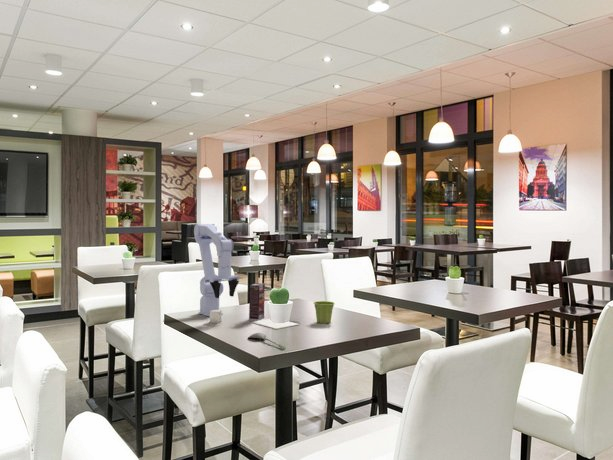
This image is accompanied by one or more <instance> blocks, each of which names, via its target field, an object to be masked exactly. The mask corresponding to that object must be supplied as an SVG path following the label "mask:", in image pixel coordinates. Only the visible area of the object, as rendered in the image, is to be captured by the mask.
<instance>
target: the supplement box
mask: <svg viewBox="0 0 613 460" xmlns="http://www.w3.org/2000/svg"><path fill="white" fill-rule="evenodd" d="M265 292H266V286H265V283H260V282H256V283H252V284H250V285H249V307H248V309H249V310H248V311H249V313H248V320H249V321H251V322H253V321H258V320H263V319H265V295H266V294H265Z"/></svg>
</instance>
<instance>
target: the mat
mask: <svg viewBox="0 0 613 460" xmlns="http://www.w3.org/2000/svg"><path fill="white" fill-rule="evenodd" d="M287 321H288V320H287ZM250 323H252V324H254V325H259V326H262V327H266V328H270V329H273V330H281V329H286V328H291V327H296V326H300V323H296V322H292V321H288V322H285V323H273V322H272V321H271V320H270V318H266V319H265V318H263V319H261V320H258V321H251V322H250Z"/></svg>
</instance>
